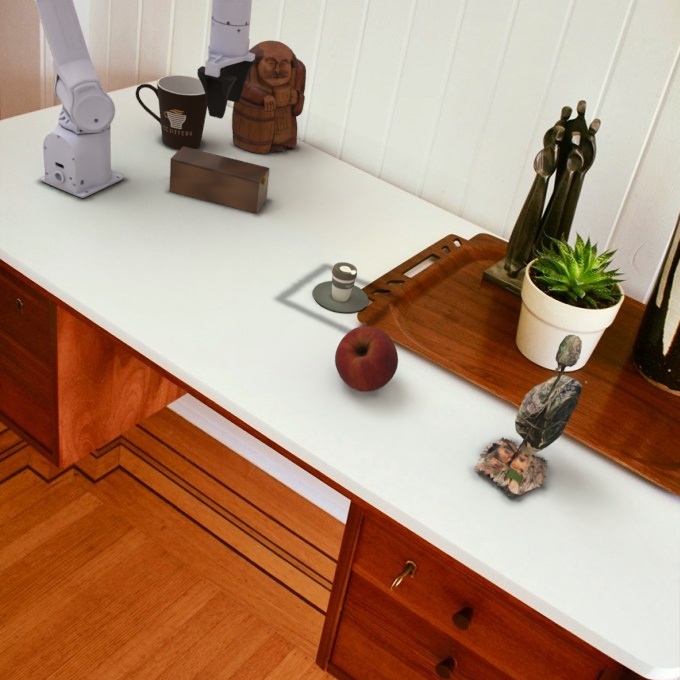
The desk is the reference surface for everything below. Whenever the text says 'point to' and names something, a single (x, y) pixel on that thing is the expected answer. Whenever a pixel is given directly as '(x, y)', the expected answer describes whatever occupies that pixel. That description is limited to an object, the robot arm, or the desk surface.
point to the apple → (366, 359)
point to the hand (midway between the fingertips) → (224, 108)
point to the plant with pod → (535, 427)
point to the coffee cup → (341, 291)
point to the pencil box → (219, 179)
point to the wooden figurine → (270, 100)
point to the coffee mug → (179, 110)
